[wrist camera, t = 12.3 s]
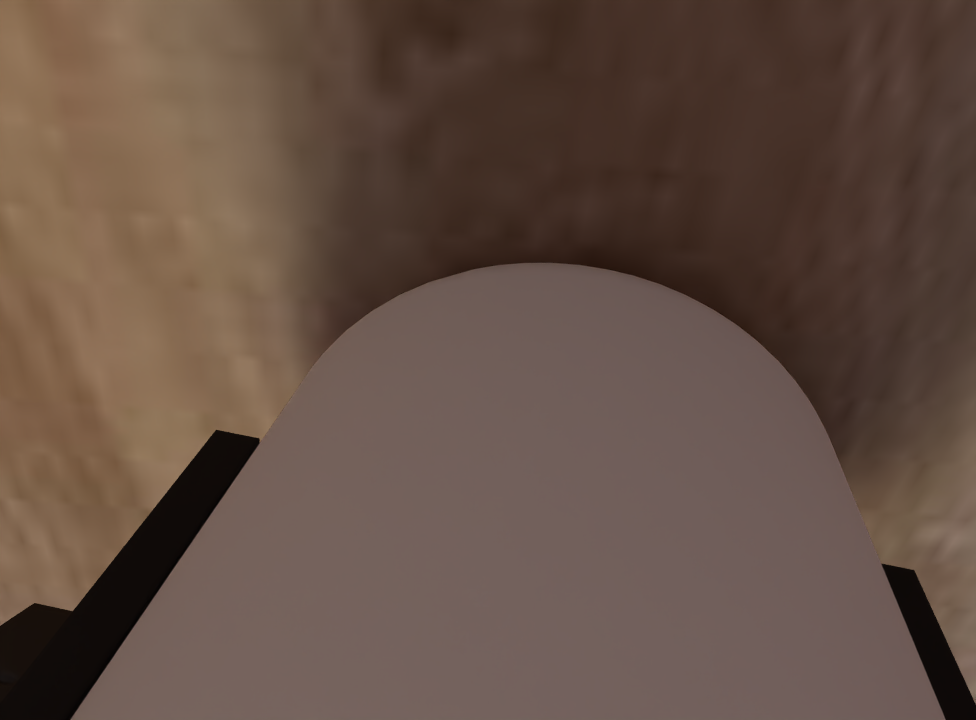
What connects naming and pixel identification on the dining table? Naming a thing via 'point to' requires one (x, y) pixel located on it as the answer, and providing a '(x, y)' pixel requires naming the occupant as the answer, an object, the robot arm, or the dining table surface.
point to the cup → (531, 530)
